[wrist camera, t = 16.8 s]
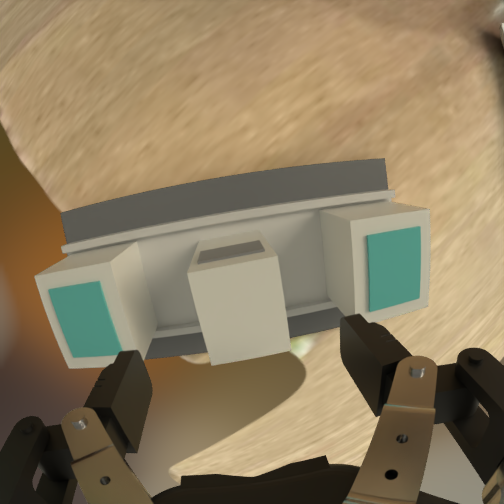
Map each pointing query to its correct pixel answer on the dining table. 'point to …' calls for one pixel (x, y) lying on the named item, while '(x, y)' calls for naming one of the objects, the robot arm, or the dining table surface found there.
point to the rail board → (228, 223)
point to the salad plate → (502, 33)
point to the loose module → (239, 297)
